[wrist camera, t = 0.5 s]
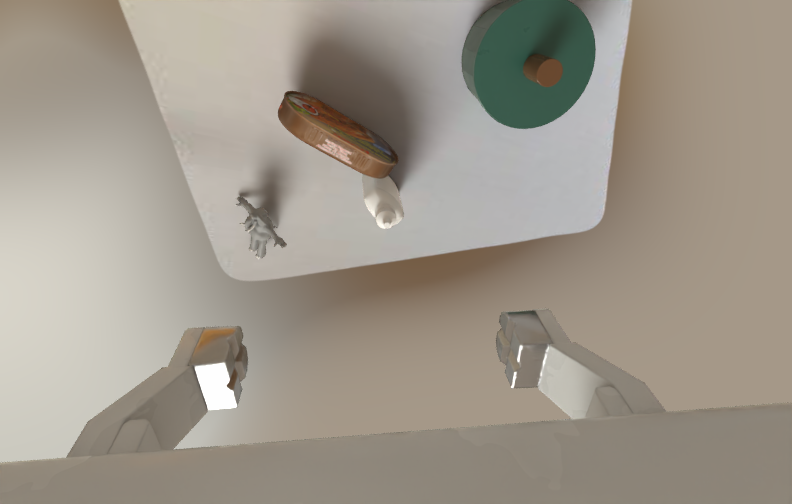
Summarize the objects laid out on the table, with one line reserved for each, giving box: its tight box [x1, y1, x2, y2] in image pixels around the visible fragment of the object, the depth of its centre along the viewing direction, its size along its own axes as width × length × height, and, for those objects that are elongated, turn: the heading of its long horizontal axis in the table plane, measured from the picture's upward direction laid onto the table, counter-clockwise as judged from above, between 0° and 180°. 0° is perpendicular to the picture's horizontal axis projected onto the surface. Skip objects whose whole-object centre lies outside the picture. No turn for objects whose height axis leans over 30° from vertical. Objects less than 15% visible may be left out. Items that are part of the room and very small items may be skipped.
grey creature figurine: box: [236, 197, 287, 259], centre depth 58 cm, size 10×6×9 cm
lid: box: [473, 0, 596, 129], centre depth 44 cm, size 13×13×5 cm
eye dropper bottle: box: [362, 175, 404, 229], centre depth 54 cm, size 4×6×12 cm
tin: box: [278, 91, 398, 179], centre depth 51 cm, size 15×3×8 cm, turn 58°
